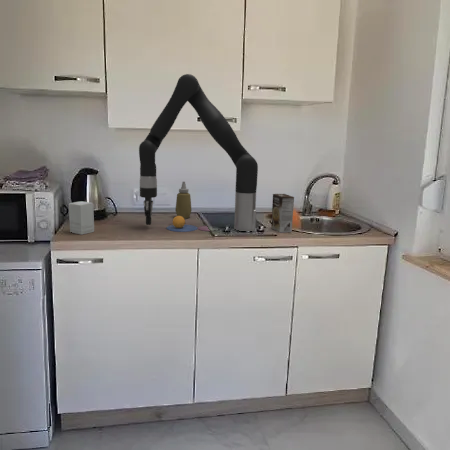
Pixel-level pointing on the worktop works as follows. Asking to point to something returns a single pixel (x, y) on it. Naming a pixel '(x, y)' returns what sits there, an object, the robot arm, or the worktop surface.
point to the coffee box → (282, 212)
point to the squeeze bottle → (183, 202)
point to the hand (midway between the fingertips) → (148, 224)
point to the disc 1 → (184, 229)
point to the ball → (178, 221)
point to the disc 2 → (203, 228)
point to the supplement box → (81, 217)
